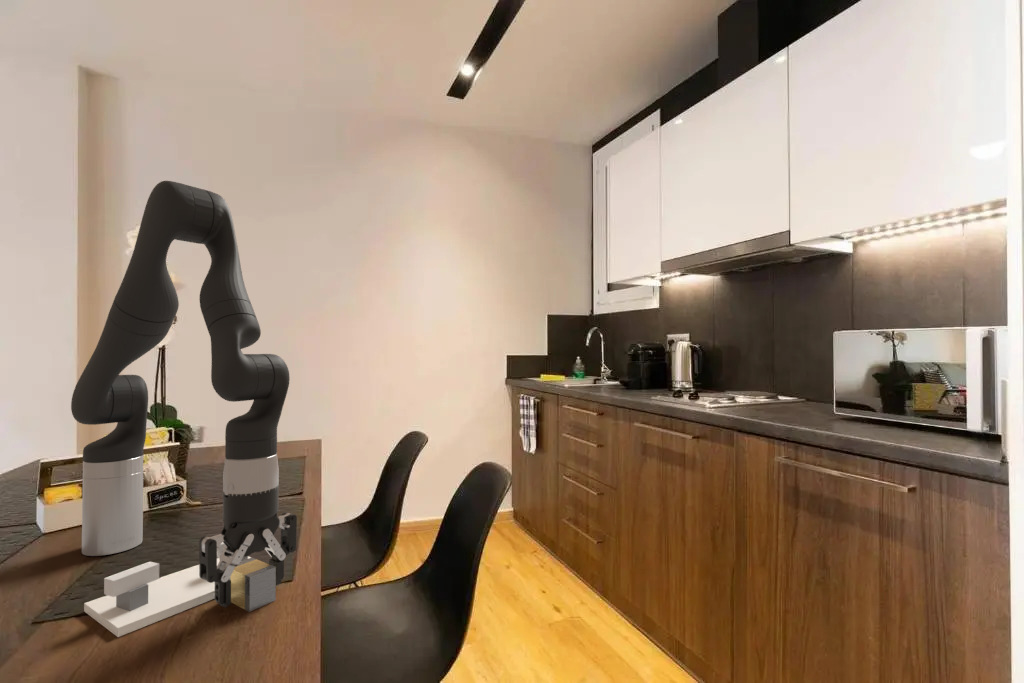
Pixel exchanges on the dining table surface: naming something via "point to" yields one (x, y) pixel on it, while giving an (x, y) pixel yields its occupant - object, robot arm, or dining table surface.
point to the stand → (149, 596)
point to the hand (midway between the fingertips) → (250, 593)
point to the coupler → (253, 584)
